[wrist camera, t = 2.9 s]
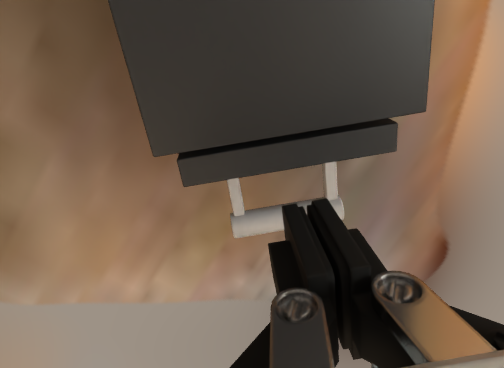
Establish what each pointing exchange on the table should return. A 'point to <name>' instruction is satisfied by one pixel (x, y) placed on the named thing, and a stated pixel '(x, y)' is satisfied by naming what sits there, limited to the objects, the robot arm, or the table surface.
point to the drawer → (285, 166)
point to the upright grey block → (271, 66)
